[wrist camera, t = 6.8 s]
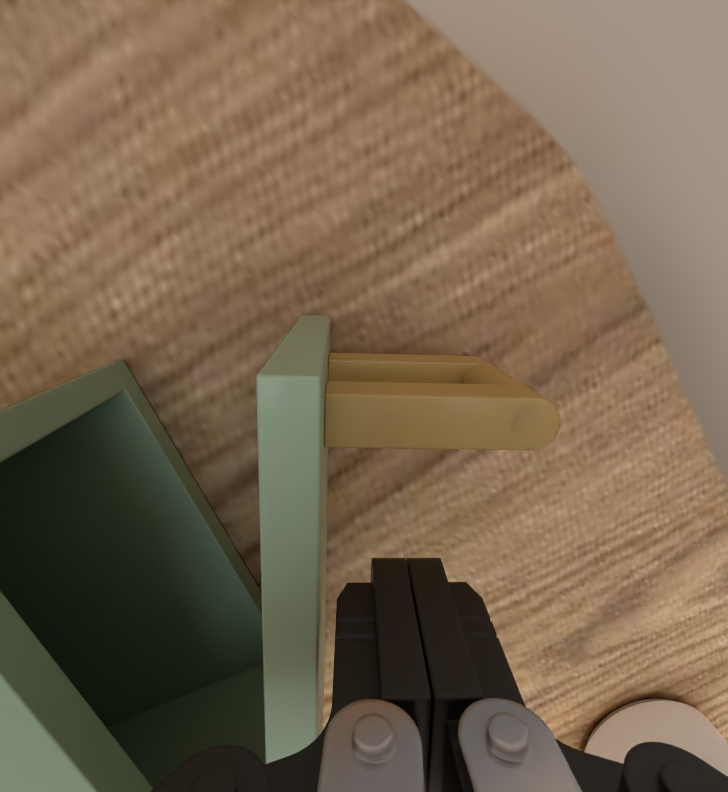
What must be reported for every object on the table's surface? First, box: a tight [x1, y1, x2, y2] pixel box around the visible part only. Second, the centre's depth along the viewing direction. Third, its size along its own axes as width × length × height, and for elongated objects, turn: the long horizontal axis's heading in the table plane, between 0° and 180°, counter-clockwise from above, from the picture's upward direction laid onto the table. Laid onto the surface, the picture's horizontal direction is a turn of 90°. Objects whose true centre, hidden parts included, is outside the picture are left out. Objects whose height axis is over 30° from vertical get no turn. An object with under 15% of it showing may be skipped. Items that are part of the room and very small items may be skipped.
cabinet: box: [0, 359, 266, 792], centre depth 14 cm, size 11×14×10 cm
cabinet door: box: [256, 315, 560, 764], centre depth 14 cm, size 6×14×10 cm, turn 178°
